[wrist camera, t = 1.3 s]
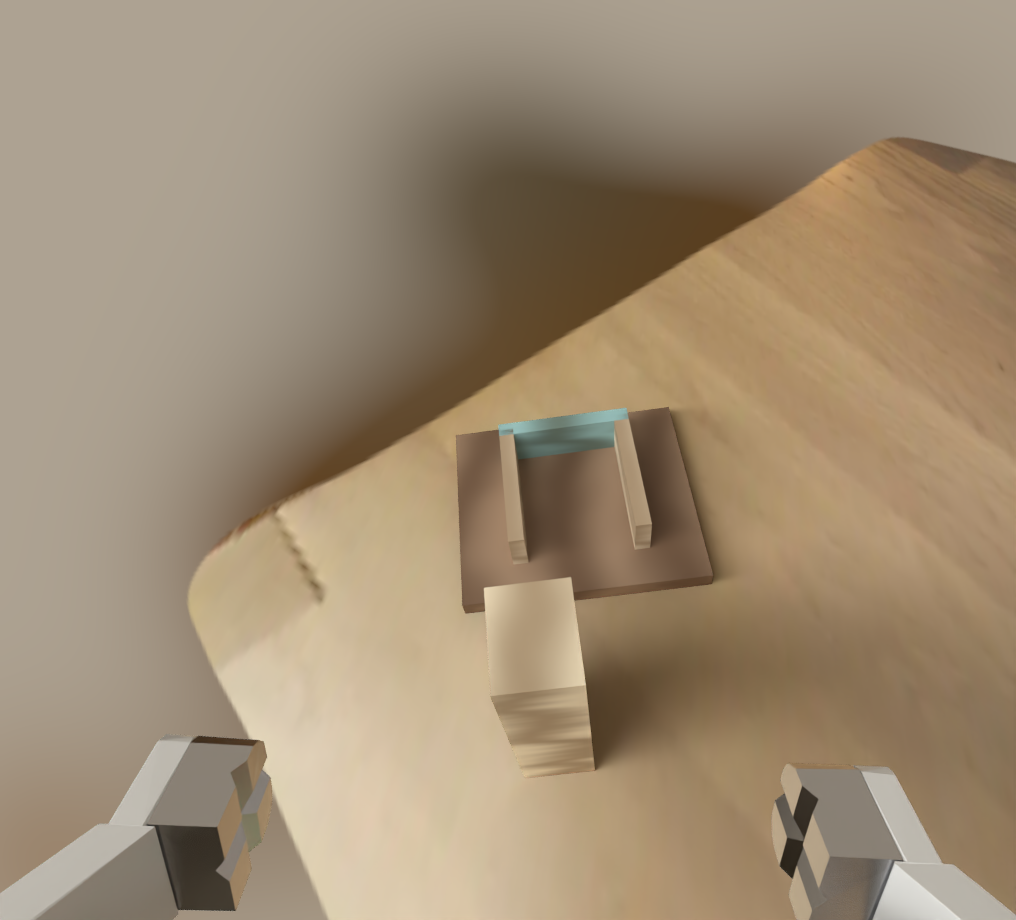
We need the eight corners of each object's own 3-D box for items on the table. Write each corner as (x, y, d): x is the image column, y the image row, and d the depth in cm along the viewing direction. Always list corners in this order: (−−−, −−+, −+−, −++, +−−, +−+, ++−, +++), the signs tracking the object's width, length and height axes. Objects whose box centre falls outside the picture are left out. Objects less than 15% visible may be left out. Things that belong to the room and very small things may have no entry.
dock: (667, 417, 56) (670, 379, 53) (711, 584, 48) (718, 552, 44) (458, 445, 57) (448, 409, 53) (465, 613, 48) (454, 584, 45)
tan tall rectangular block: (583, 683, 45) (571, 577, 34) (595, 770, 42) (585, 685, 31) (517, 691, 45) (483, 587, 34) (524, 778, 42) (489, 696, 31)
